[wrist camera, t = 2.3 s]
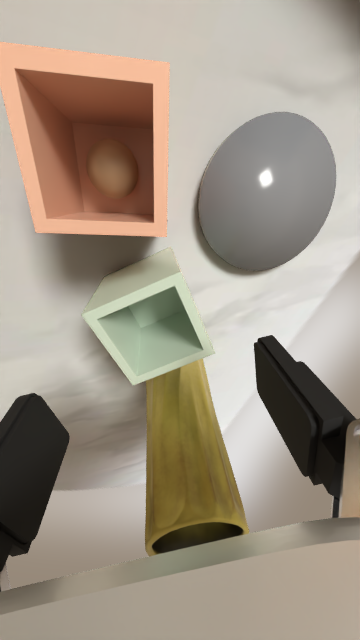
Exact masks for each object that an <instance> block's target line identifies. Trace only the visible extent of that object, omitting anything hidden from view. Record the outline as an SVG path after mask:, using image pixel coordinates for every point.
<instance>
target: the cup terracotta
mask: <svg viewBox="0 0 360 640" xmlns="http://www.w3.org/2000/svg"><path fill="white" fill-rule="evenodd" d="M169 66H170V63H168V62H160V61H152V60H144V59H136V58H127V57H119V56H111V55H103V54H95V53H87V52H79V51H70V50H62V49H54V48H46V47H38V46H30V45H22V44H13V43H5V42H0V87H1V91H2V95H3V99H4V103H5V107H6V112H7V116H8V120H9V124H10V128H11V132H12V136H13V140H14V145H15V149H16V153H17V157H18V161H19V165H20V169H21V174H22V178H23V182H24V186H25V190H26V194H27V198H28V203H29V207H30V211H31V215H32V219H33V223H34V227H35V232H36V233H64V234H95V235H126V236H157V237H167V186H168V126H169ZM106 138H110V139H115V140H118V141H120V142H122V143H123V144H125V145H126V146H127V147H128V148H129V149H130V151H131V152H132V153H133V155H134V157H135V159H136V162H137V165H138V181H137V184H136V186H135V188H134V190H133V191H132V192H131V193H130V194H129V195H128V196H126V197H123V198H119V199H114V198H109V197H107V196H105V195H103V194H101V193H100V192H99V191H98V190H97V189H96V188H95V187H94V186H93V184H92V183H91V181H90V179H89V176H88V173H87V169H86V159H87V155H88V152H89V150H90V148H91V147H92V145H93V144H94V143H96V142H97V141H99V140H102V139H106Z"/></svg>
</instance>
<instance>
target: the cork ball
mask: <svg viewBox="0 0 360 640" xmlns="http://www.w3.org/2000/svg"><path fill="white" fill-rule="evenodd" d="M86 169H87V173H88V176H89V179H90V181H91V183H92V184H93V186H94V187H95V188H96V189H97V190H98V191H99V192H100V193H101V194H103V195H105V196H107V197H109V198H114V199H119V198H123V197H126V196H128V195H129V194H130V193H131V192H132V191H133V190H134V188H135V186H136V184H137V181H138V165H137V162H136V159H135V157H134V155H133V153H132V152H131V151H130V149H129V148H128V147H127V146H126V145H125V144H123V143H122V142H120V141H118V140H115V139H110V138H106V139H102V140H99V141H97V142H96V143H94V144H93V145H92V147H91V148H90V150H89V152H88V155H87V159H86Z"/></svg>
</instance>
